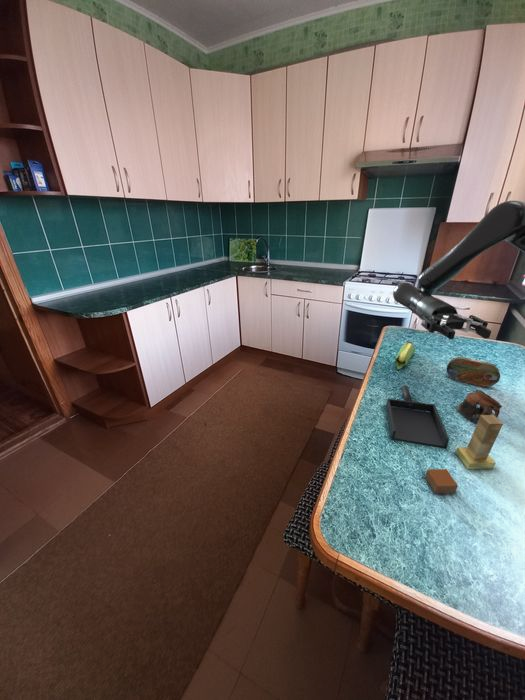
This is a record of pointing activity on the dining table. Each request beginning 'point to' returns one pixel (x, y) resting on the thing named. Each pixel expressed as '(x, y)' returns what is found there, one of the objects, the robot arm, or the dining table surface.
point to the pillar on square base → (481, 444)
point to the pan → (415, 422)
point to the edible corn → (404, 354)
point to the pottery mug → (485, 408)
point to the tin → (473, 371)
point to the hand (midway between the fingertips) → (471, 335)
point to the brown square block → (441, 481)
